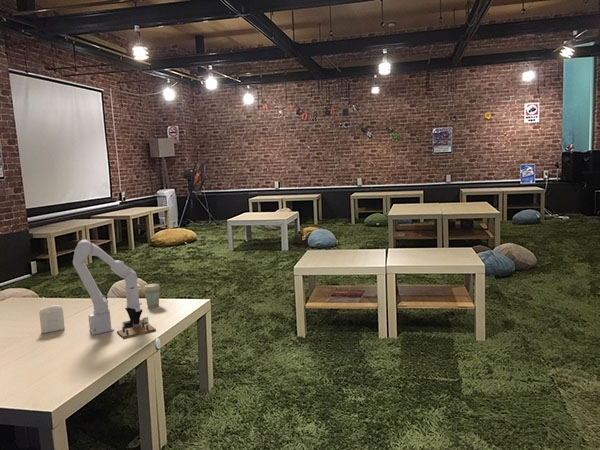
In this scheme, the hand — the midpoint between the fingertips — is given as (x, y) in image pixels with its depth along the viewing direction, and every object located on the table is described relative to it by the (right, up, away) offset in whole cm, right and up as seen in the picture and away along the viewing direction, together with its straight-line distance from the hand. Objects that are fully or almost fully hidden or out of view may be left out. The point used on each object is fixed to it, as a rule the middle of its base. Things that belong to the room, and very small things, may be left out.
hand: (134, 322), depth 247 cm
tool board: (+4, -3, -9) cm, 10 cm away
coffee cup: (0, +3, +31) cm, 31 cm away
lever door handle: (0, -1, +1) cm, 2 cm away
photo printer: (-39, -4, -2) cm, 39 cm away
